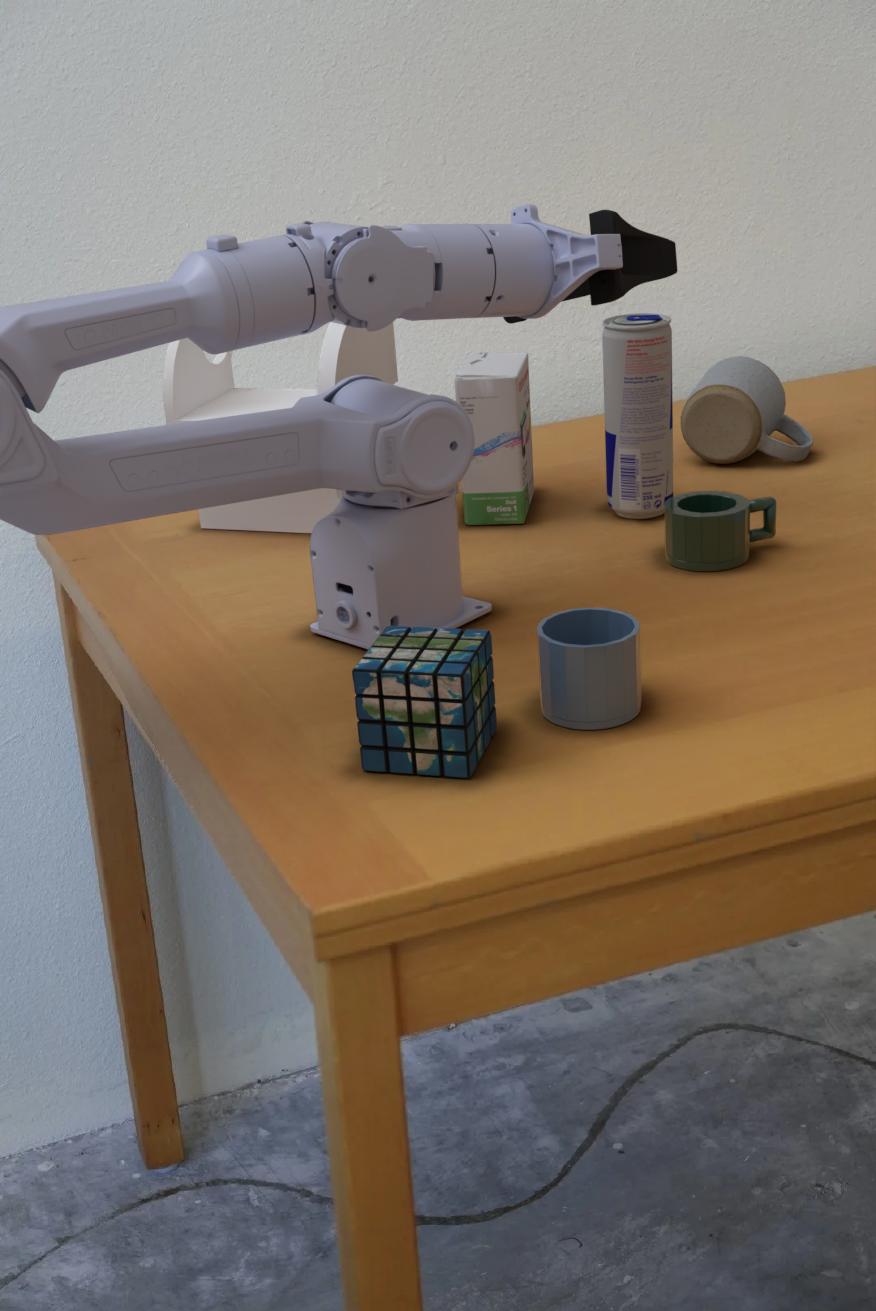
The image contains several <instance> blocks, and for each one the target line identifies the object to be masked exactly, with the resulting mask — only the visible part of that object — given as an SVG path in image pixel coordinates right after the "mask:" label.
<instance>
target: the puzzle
mask: <svg viewBox="0 0 876 1311" xmlns="http://www.w3.org/2000/svg"><path fill="white" fill-rule="evenodd" d="M492 638H493V637H492V633H491V630H488V629H474V628H473V629H470V628H469V629H468V628H466V629H462V628H455V629H452V628H439V629H438V631H437V628H429V627H413V628H412V629H411V627H405V626H387V627H386V628H385V629H384V631H383V632H382V633H381V634H380V636H379V637H378V638H377V639H376V641H375V642H374V643H373V645H372V646H371V647H370V648H369V650H368V649H367V651H366V652H365V653H364V654H363V656H362V657H361V659H360V660H359V661H358V662H357V664H356V665H354V667H353V669H352V670H351V677H352V685H353V693H354V694H355V695H354V705H355V712H356V713H355V714H356V719H357V722H356V726H357V735H358V743H359V745H360V747H359V754H360V755H359V756H360V764H361V769H362V770H363V771H365V772H377V773H388V772H389V773H392V774H403V775H415V774H416V775H418V776H419V775H420V776H431V777H432V776H433V777H442V776H443V777H447V778H458V779H470V778H471V777H472V775H473V774H474V772H475V771H476V768H477V766H478V763H479V764H480V761H481V759H482V757H483V755H484V752H485V750H487V748H488V746H489V744H490V742H491V738H493V736H494V734H495V732H496V731H497V729H498V722H497V721H498V720H497V708H496V706H495V705H496V689H495V682H494V681H493V680H494V678H495V673H494V658H493V656H492V655H493V639H492Z"/></svg>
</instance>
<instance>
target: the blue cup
mask: <svg viewBox="0 0 876 1311" xmlns="http://www.w3.org/2000/svg"><path fill="white" fill-rule="evenodd" d="M536 641H537V659H538V662H537V663H538V678H539V679H538V680H539V682H538V683H539V700H540V708H541V713H542V715H543V717H544V718H545V719H547V720H548V721H549V722H550V723H552V724H554V725H557V726H559V727H563V728H567V729H571V730H581V731H596V730H597V731H598V730H605V729H610V728H611V729H612V728H616V727H619V726H622V725H625V724H627V723H628V722H630V721H633V719H635V718H636V717H637V716H638V715H639V713H640V712H641V710H642V699H643V698H642V697H643V696H642V695H643V693H642V647H641V646H642V644H641V643H642V642H641V625H640V623H639V620H638V618H637V617H635V616H633V615H631V614H630V613H629V612H626V611H623V610H622V611H621V610H619V609H614V608H610V607H609V608H607V607H595V606H594V607H591V606H589V607H578V608H570V609H565V610H562V611H558V612H557V611H556V612H554V613H552V614H551V615H548V616H547V617H544V618H542V619H541V620H540V622H539V623H538V624H537V626H536Z"/></svg>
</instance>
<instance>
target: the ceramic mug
mask: <svg viewBox="0 0 876 1311" xmlns="http://www.w3.org/2000/svg"><path fill="white" fill-rule="evenodd" d="M786 406H787V400H786V391H785V389H784V386H783V384H782V382H781V380H780V378H779V376H778V375H777V374H776V373H775V372H774V371H773V370H772V368H770V366H768V365H766V364H765V363H763V362H762V361H760V360H758V359H756V358H752V357H749V356H730V357H727V358H724V359H722V360H718V361H717V362H716V363H714V364H712V366H710V368H709V369H708V370H707V371H706V372H705V373H704V375H703V376H702V377H701V379H700V380H699V381H698V383H697V384H696V385H695V387H694V388H693V389H692V390H691V391H690V393H689V394H688V396H687V397H686V400H685V401H684V404H683V406H682V409H681V414H680V430H681V434H682V435H681V436H682V438H683V440H684V442H685V444H686V445H687V447H688V448H689V449H690V450H691V451H692V452H693V453H694V455H696V456H697V457H699V458H701V459H702V460H705V461H706V462H709V463H711V464H712V463H713V464H720V465H727V464H729V465H730V464H733V463H737V462H740V461H742V460H744V459H746V458H748V457H750V456H751V455H752V454H754V453H755V452H756V451H759V452H761V453H762V454H765V455H767V456H769V457H772V458H774V459H777V460H780V461H783V462H790V463H795V462H798V463H799V462H801V461H804V460H805V459H806V458H807V457H808V455H809V454H810V451H811V449H812V447H813V445H814V436H812V433H811V432H809V430H808V429H806V427H804V426H803V425H802V424H800V423H799V422H798V420H796V419H794V418H792V417H791V416H789V415H787V414H785V411H786ZM774 432H778V433H780V434H782V435H783V436H785V437H787V438H788V439H790V440H791V441H793V442H794V443H795V444H796V445H793V444H791V443H790V444H789V443H787V442H784V441H782V440H779V439H777V438H774V437H772V436H771V435H772V434H773V433H774Z"/></svg>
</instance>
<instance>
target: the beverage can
mask: <svg viewBox="0 0 876 1311" xmlns="http://www.w3.org/2000/svg"><path fill="white" fill-rule="evenodd" d="M671 322H672V318H671V317H670V316H669V315H666V314H663V313H654V312H653V313H652V312H649V313H648V312H641V313H626V314H619V315H614V316H610V317H606V318H605V319H603V321H602V323H601V325H602V326H603V329H602V331H601V332H602V333H601V341H602V373H603V374H602V375H603V377H602V378H603V408H604V409H603V410H604V442H605V444H604V445H605V448H604V449H605V476H606V477H605V478H606V479H605V480H606V502H607V505H608V507H609V508H610V509H611V510H613V511H614V512H615V513H616V515H617V516H619V517H621V518H624V519H631V520H644V519H645V520H646V519H651V518H657V517H659V516H661V515H663V514H665V508H664V503H665V502H666V501H667V500H668V499H669V498H671V497H673V496H674V421H673V420H674V419H673V416H674V415H673V412H674V410H673V408H674V407H673V330H672V327H671Z"/></svg>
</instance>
